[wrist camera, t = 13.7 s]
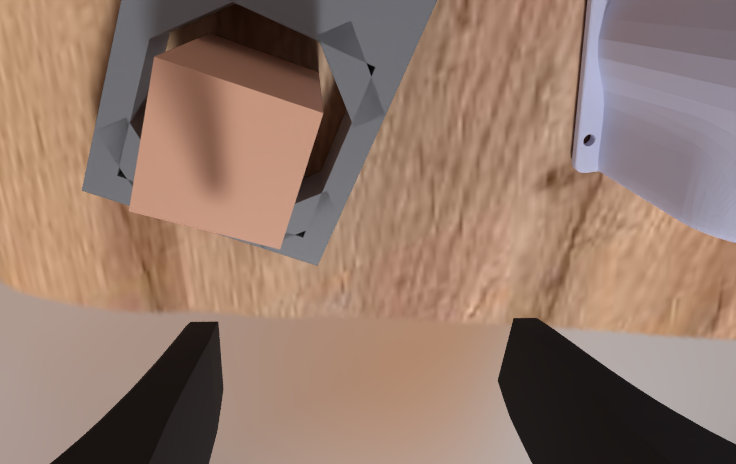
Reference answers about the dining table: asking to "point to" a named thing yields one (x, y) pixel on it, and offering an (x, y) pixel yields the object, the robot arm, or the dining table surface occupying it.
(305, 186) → the socket board
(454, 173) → the dining table surface
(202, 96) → the peg
